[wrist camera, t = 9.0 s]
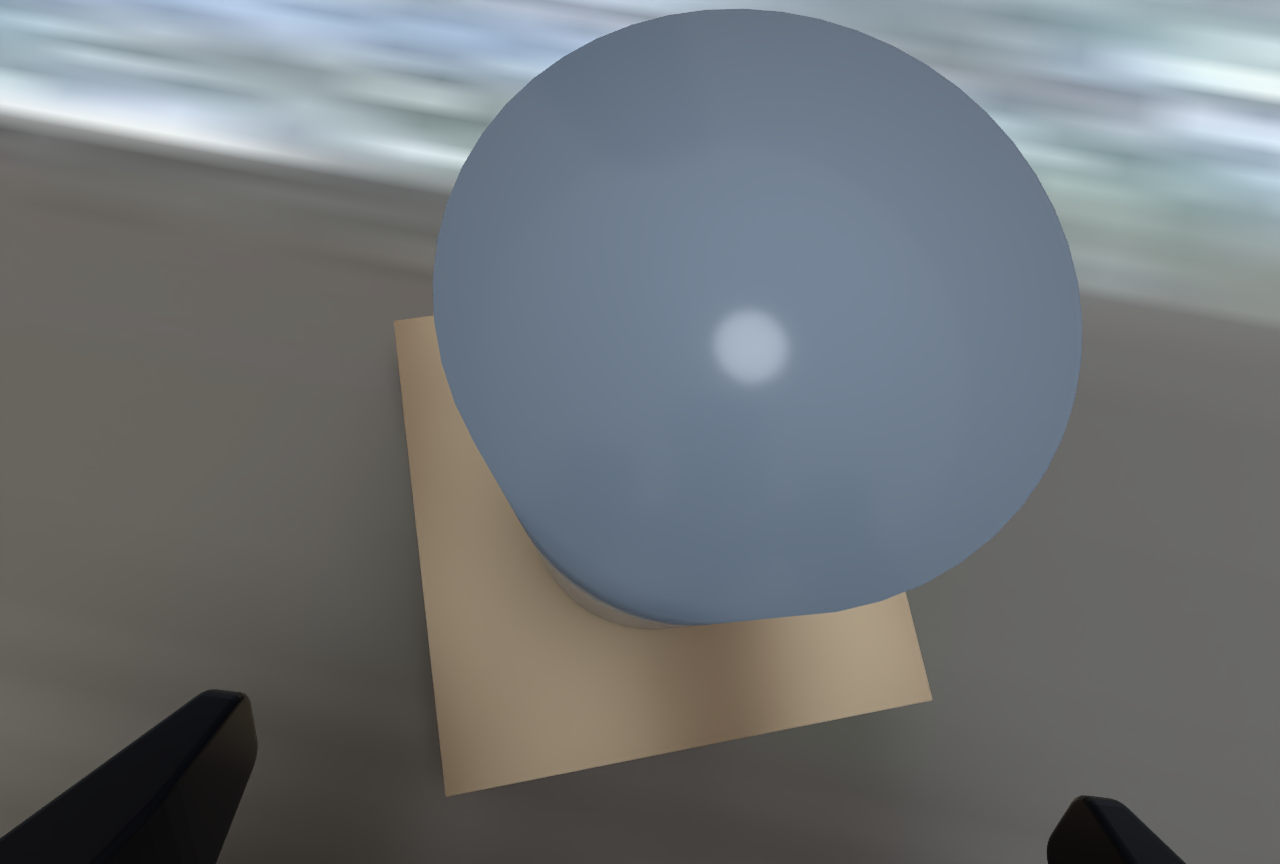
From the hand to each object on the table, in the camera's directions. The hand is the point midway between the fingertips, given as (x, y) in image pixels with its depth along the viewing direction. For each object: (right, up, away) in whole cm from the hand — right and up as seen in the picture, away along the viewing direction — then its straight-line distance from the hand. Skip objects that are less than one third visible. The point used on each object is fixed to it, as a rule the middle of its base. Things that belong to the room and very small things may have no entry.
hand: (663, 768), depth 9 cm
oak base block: (0, +2, +11) cm, 11 cm away
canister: (0, +2, +8) cm, 9 cm away
